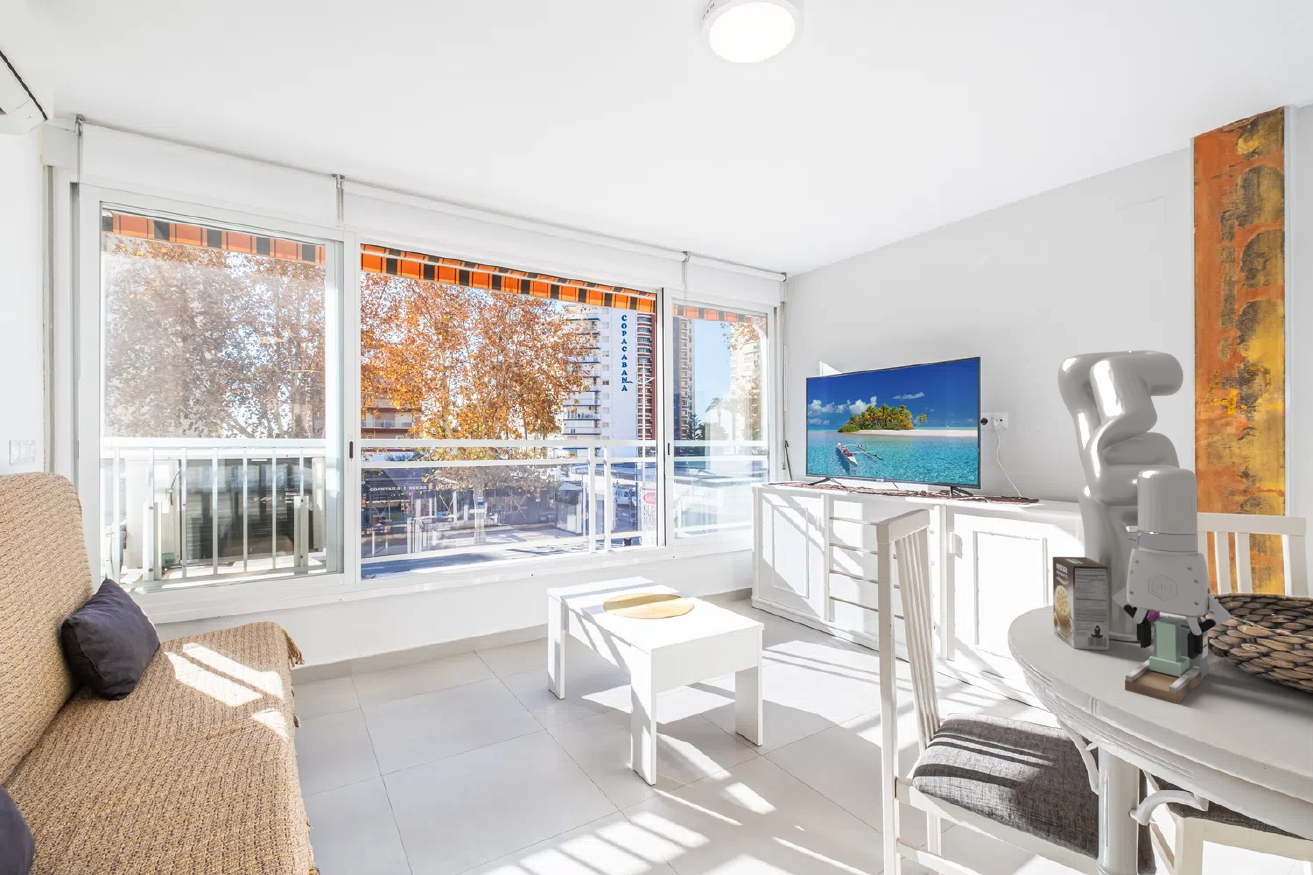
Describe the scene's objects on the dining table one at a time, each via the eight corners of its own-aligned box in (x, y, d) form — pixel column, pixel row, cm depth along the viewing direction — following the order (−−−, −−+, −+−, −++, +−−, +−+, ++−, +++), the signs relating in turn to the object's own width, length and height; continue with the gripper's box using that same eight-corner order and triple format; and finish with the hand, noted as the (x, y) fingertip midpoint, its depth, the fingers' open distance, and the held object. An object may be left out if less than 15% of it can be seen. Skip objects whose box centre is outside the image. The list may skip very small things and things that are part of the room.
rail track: (1152, 669, 103) (1152, 655, 103) (1201, 681, 98) (1201, 667, 98) (1125, 689, 95) (1124, 675, 95) (1176, 703, 90) (1176, 688, 90)
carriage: (1158, 662, 101) (1157, 615, 101) (1189, 669, 98) (1188, 621, 98) (1149, 669, 98) (1148, 621, 98) (1180, 677, 95) (1179, 627, 95)
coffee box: (1051, 633, 122) (1050, 555, 122) (1086, 635, 121) (1085, 556, 121) (1073, 649, 113) (1072, 565, 113) (1111, 651, 112) (1110, 566, 112)
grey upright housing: (1163, 662, 106) (1162, 614, 106) (1210, 673, 101) (1209, 623, 101) (1154, 669, 103) (1153, 619, 103) (1202, 680, 98) (1201, 628, 98)
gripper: (1097, 538, 103) (1099, 642, 103) (1232, 552, 89) (1235, 673, 89) (1112, 533, 107) (1114, 633, 107) (1244, 547, 93) (1246, 661, 93)
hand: (1169, 650), depth 98 cm, fingers open, 5 cm apart
